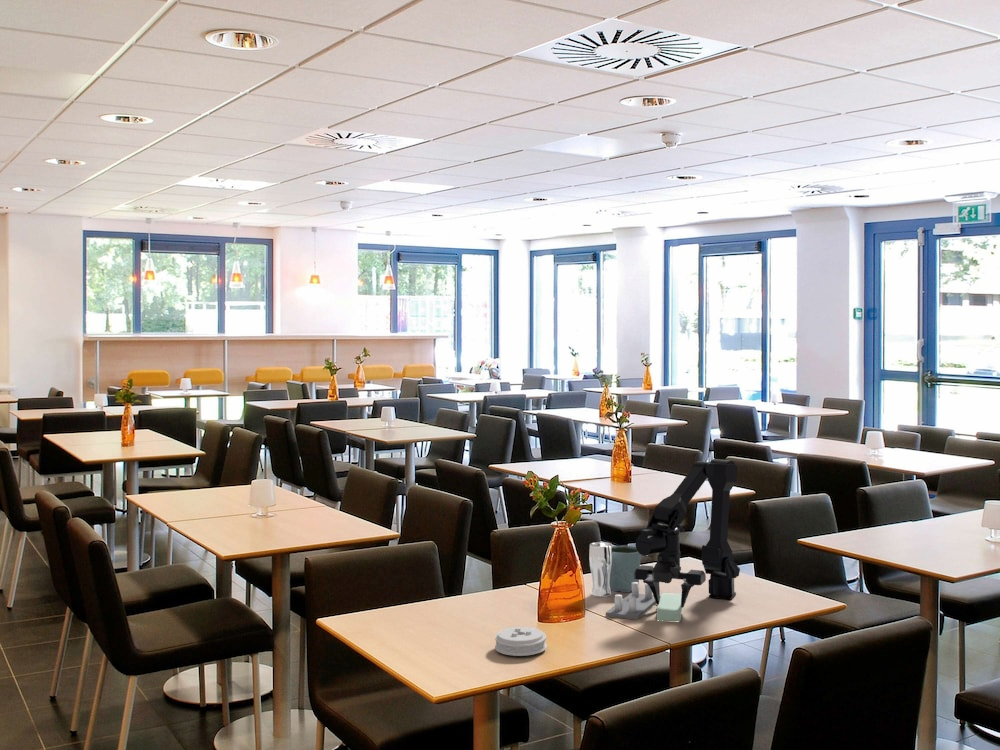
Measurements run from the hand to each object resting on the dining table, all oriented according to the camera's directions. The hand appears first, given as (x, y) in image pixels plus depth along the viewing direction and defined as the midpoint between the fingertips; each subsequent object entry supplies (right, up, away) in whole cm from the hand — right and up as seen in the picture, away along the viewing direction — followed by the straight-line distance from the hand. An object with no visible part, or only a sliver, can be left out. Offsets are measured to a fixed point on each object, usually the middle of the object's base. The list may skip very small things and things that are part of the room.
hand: (670, 605), depth 255 cm
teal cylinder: (-9, -1, +25) cm, 27 cm away
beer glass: (-17, -2, +19) cm, 25 cm away
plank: (0, -2, 0) cm, 2 cm away
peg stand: (-9, -2, +5) cm, 11 cm away
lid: (-42, -4, -28) cm, 50 cm away
